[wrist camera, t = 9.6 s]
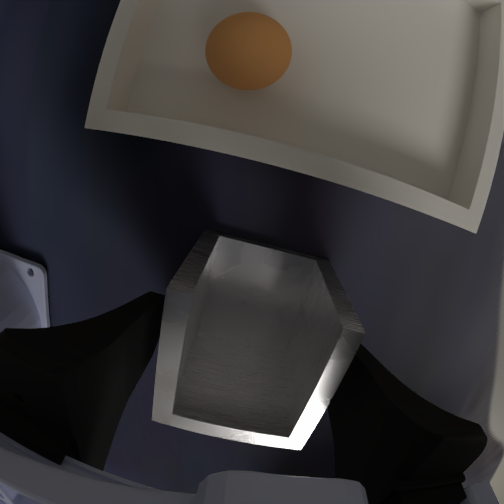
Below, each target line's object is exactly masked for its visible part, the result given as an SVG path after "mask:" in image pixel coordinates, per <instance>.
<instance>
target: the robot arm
mask: <svg viewBox="0 0 504 504" xmlns="http://www.w3.org/2000/svg"><path fill="white" fill-rule="evenodd" d="M31 269H32V270H33V272H34V273H33V272H32V271H31ZM164 299H165V295H162V294H158V293H155V292H151V291H150V292H148V293H146V294H144V295H142V296H140V297H138V298H136V299H134V300H132V301H130V302H128V303H126V304H124V305H122V306H120V307H118V308H116V309H114V310H111V311H109V312H107V313H104V314H102V315H99V316H97V317H94V318H91V319H87V320H84V321H80V322H76V323H71V324H66V325H61V326H56V327H50V318H49V305H48V288H47V272H46V270H45V268H44V267H43V266H42V265H41V264H38V263H36V262H33V261H30V260H27V259H25V258H22V257H19V256H17V255H14V254H12V253H9V252H6V251H4V250H1V249H0V504H499V502H498V500H497V498H496V496H495V493H494V491H493V489H492V487H491V485H490V483H489V481H484V482H480V483H476V484H473V485H470V486H468V487H466V488H464V489H463V486H462V484H461V483H462V482H464V481H465V476H464V474H463V472H464V471H465V470H466V469H467V468H468V467H469V466H470V465H471V464H472V463H473V462H474V461H475V460H476V459H477V458H478V457H479V455H480V454H481V453H482V452H483V450H484V448H485V447H486V444H487V436H486V435H485V433H484V431H483V429H482V428H481V426H480V425H479V424H477V423H474V422H471V421H468V420H465V419H463V418H460V417H457V416H455V415H453V414H451V413H449V412H446V411H444V410H443V409H441V408H439V407H437V406H435V405H433V404H432V403H430V402H428V401H427V400H425V399H423V398H422V397H420V396H419V395H418V394H416V393H415V392H413V391H412V390H411V389H409V388H408V387H407V386H405V385H404V384H403V383H402V382H401V381H399V380H398V379H397V378H396V377H395V376H394V375H393V374H391V373H390V372H389V371H388V370H387V369H386V368H385V367H384V366H383V365H382V364H381V363H380V362H379V361H378V360H377V359H376V358H375V357H374V356H373V355H372V354H371V353H370V352H369V351H368V350H367V349H366V348H365V347H364V346H363V345H362V344H360V346H359V348H358V350H357V352H356V354H355V356H354V358H353V360H352V362H351V364H350V366H349V368H348V369H347V371H346V373H345V375H344V377H343V379H342V381H341V383H340V385H339V386H338V388H337V390H336V392H335V394H334V396H333V397H332V399H331V401H330V403H329V404H328V406H327V408H328V413H329V418H330V423H331V428H332V433H333V438H334V446H335V470H336V478H316V477H301V476H289V475H279V474H270V473H262V472H255V471H240V470H228V471H223V472H218V473H214V474H211V475H208V476H207V477H206V478H205V479H204V480H203V481H202V482H201V483H200V484H199V487H198V490H197V493H196V494H188V493H178V492H169V491H162V490H159V489H155V488H152V487H148V486H145V485H142V484H138V483H135V482H132V481H129V480H126V479H123V478H120V477H118V476H115V475H112V474H109V473H107V472H104V471H103V469H104V466H105V462H106V459H107V456H108V453H109V449H110V446H111V443H112V440H113V438H114V435H115V432H116V429H117V426H118V424H119V421H120V418H121V416H122V413H123V411H124V408H125V406H126V403H127V401H128V399H129V397H130V395H131V393H132V391H133V390H134V388H135V386H136V384H137V382H138V381H139V379H140V377H141V375H142V374H143V372H144V370H145V368H146V366H147V365H148V363H149V361H150V359H151V357H152V355H153V353H154V350H155V348H156V345H157V342H158V340H159V337H160V329H161V321H162V313H163V306H164Z"/></svg>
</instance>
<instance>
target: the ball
mask: <svg viewBox="0 0 504 504" xmlns="http://www.w3.org/2000/svg"><path fill="white" fill-rule="evenodd" d="M205 55H206V60H207V64H208V66H209V68H210V70H211V71H212V73H213V74H214V75H215V76H216V78H217V79H219V80H220V81H221V82H222V83H224V84H226V85H228V86H230V87H232V88H235V89H240V90H257V89H262V88H264V87H267V86H269V85H271V84H273V83H274V82H276V81H277V80H278V79H279V78H280V77H282V75H283V74H284V73H285V72H286V70H287V68H288V66H289V64H290V61H291V56H292V46H291V41H290V38H289V36H288V34H287V32H286V31H285V29H284V28H283V27H282V25H281V24H279V23H278V22H277V21H276V20H274V19H273V18H271V17H269V16H267V15H264V14H261V13H256V12H241V13H237V14H233V15H231V16H228V17H226V18H225V19H223V20H222V21H220V22H219V23H218V24H217V25H216V26H215V27H214V28H213V30H212V31H211V33H210V35H209V37H208V39H207V42H206V47H205Z"/></svg>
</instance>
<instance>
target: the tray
mask: <svg viewBox="0 0 504 504" xmlns="http://www.w3.org/2000/svg"><path fill="white" fill-rule="evenodd" d="M241 12H256V13H261V14H264V15H267V16H269V17H271V18H273V19H274V20H276V21H277V22H278V23H279V24H281V25H282V27H283V28H284V29H285V31H286V32H287V34H288V36H289V38H290V41H291V46H292V56H291V61H290V64H289V66H288V68H287V70H286V72H285V73H284V74H283V75H282V77H280V78H279V79H278V80H277V81H276V82H274V83H273V84H271V85H269V86H267V87H264V88H262V89H257V90H240V89H235V88H232V87H230V86H228V85H226V84H224V83H222V82H221V81H220V80H219V79H217V78H216V76H215V75H214V74H213V73H212V71H211V70H210V68H209V66H208V64H207V60H206V55H205V47H206V42H207V39H208V37H209V35H210V33H211V31H212V30H213V28H214V27H215V26H216V25H217V24H218V23H219V22H220V21H222V20H223V19H225V18H226V17H228V16H231V15H233V14H237V13H241ZM85 128H88V129H95V130H102V131H109V132H116V133H122V134H129V135H135V136H141V137H146V138H152V139H157V140H163V141H168V142H173V143H178V144H183V145H188V146H193V147H198V148H203V149H207V150H212V151H216V152H221V153H225V154H230V155H234V156H238V157H242V158H246V159H250V160H255V161H258V162H262V163H266V164H270V165H274V166H278V167H282V168H285V169H289V170H293V171H296V172H300V173H303V174H307V175H310V176H314V177H317V178H321V179H324V180H327V181H331V182H334V183H337V184H341V185H344V186H347V187H350V188H353V189H356V190H359V191H363V192H366V193H369V194H372V195H375V196H378V197H381V198H384V199H386V200H389V201H392V202H395V203H398V204H401V205H404V206H406V207H409V208H412V209H415V210H417V211H420V212H423V213H425V214H428V215H431V216H433V217H436V218H438V219H441V220H444V221H446V222H449V223H451V224H454V225H456V226H459V227H461V228H463V229H466V230H468V231H471V232H473V233H475V234H476V233H477V230H478V227H479V224H480V221H481V218H482V215H483V212H484V208H485V205H486V202H487V198H488V195H489V191H490V188H491V184H492V180H493V177H494V173H495V169H496V164H497V160H498V156H499V151H500V146H501V142H502V136H503V131H504V0H121V1H120V4H119V6H118V9H117V11H116V14H115V17H114V20H113V23H112V25H111V28H110V31H109V34H108V37H107V41H106V44H105V47H104V50H103V53H102V57H101V60H100V64H99V67H98V71H97V75H96V79H95V82H94V86H93V91H92V95H91V99H90V103H89V108H88V113H87V117H86V122H85Z"/></svg>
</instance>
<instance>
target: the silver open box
mask: <svg viewBox="0 0 504 504" xmlns="http://www.w3.org/2000/svg"><path fill="white" fill-rule="evenodd" d="M364 335H365V332H364V329H363V327H362V325H361V323H360V321H359V319H358V317H357V315H356V313H355V311H354V309H353V307H352V305H351V303H350V301H349V299H348V297H347V295H346V293H345V291H344V289H343V287H342V285H341V283H340V281H339V279H338V277H337V275H336V273H335V271H334V269H333V267H332V265H331V263H330V261H329V260H327V259H323V258H319V257H315V256H311V255H307V254H304V253H300V252H296V251H292V250H288V249H284V248H280V247H276V246H272V245H268V244H264V243H260V242H256V241H252V240H248V239H244V238H240V237H236V236H232V235H228V234H224V233H220V232H216V231H212V230H208V229H205V231H204V232H203V233H202V235H201V236H200V238H199V239H198V241H197V242H196V244H195V245H194V247H193V248H192V250H191V251H190V253H189V254H188V256H187V257H186V259H185V260H184V262H183V263H182V265H181V266H180V268H179V269H178V271H177V272H176V274H175V275H174V277H173V279H172V280H171V282H170V283H169V285H168V286H167V289H166V296H165V303H164V310H163V317H162V325H161V333H160V341H159V349H158V358H157V368H156V378H155V389H154V400H153V413H152V420H153V421H156V422H160V423H163V424H167V425H170V426H174V427H177V428H181V429H185V430H189V431H193V432H197V433H201V434H206V435H210V436H215V437H219V438H224V439H229V440H234V441H240V442H245V443H251V444H257V445H264V446H270V447H278V448H285V449H294V450H301V449H302V448H303V446H304V445H305V443H306V441H307V440H308V438H309V437H310V435H311V433H312V432H313V430H314V428H315V427H316V425H317V423H318V422H319V420H320V418H321V417H322V415H323V413H324V411H325V410H326V408H327V406H328V404H329V403H330V401H331V399H332V397H333V396H334V394H335V392H336V390H337V388H338V386H339V385H340V383H341V381H342V379H343V377H344V375H345V373H346V371H347V369H348V368H349V366H350V364H351V362H352V360H353V358H354V356H355V354H356V352H357V350H358V348H359V346H360V344H361V341H362V339H363V337H364Z"/></svg>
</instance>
